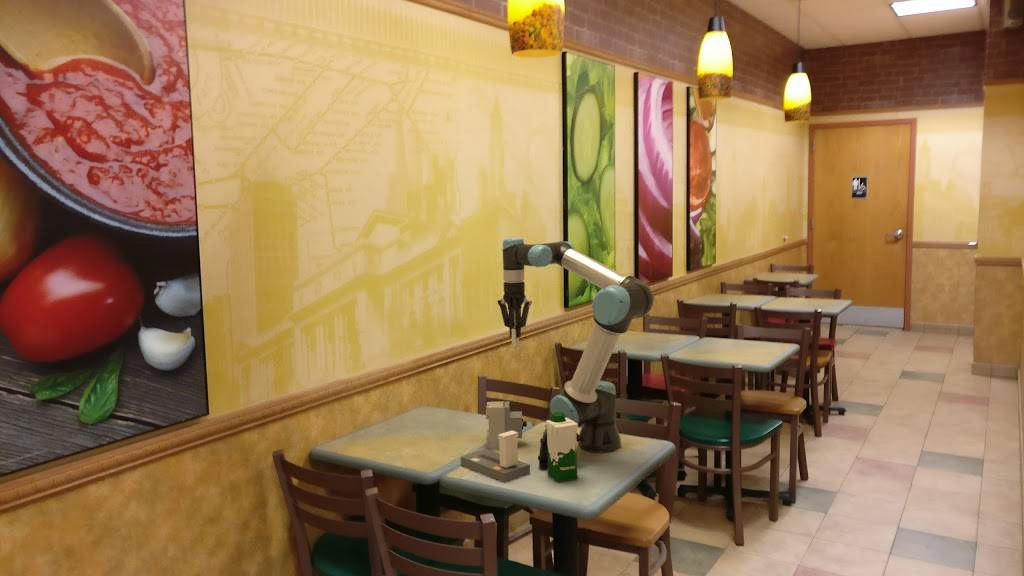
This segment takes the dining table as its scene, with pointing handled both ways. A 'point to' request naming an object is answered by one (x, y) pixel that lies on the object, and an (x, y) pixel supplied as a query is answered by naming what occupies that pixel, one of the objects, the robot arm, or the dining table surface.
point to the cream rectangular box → (508, 448)
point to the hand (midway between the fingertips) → (515, 346)
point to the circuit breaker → (502, 422)
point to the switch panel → (494, 465)
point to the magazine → (545, 451)
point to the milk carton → (562, 448)
